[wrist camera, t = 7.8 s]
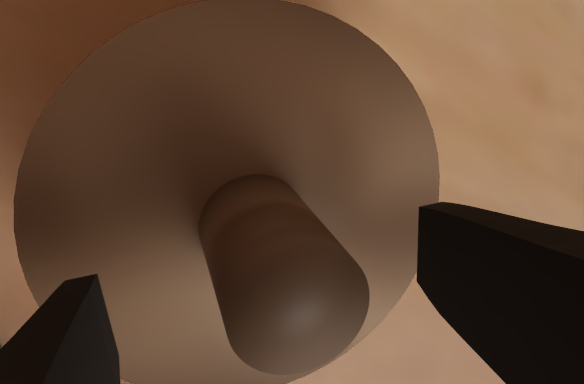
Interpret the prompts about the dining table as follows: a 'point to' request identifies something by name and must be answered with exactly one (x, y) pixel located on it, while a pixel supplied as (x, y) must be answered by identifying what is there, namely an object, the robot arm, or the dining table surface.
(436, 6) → the dining table surface
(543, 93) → the dining table surface
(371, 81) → the lid
